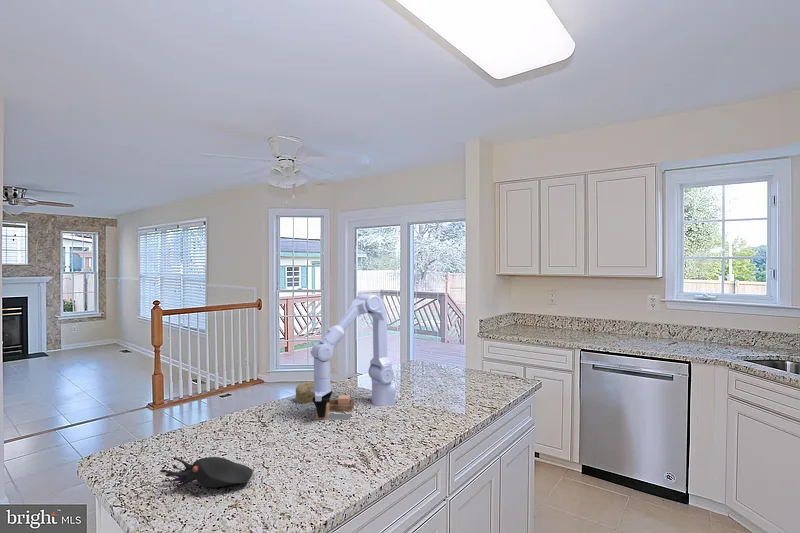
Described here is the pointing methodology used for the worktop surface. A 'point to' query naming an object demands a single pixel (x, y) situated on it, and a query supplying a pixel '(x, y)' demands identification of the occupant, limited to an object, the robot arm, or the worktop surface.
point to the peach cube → (344, 400)
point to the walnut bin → (340, 406)
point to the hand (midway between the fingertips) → (322, 414)
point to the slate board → (338, 417)
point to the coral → (305, 392)
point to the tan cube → (325, 413)
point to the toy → (211, 472)
